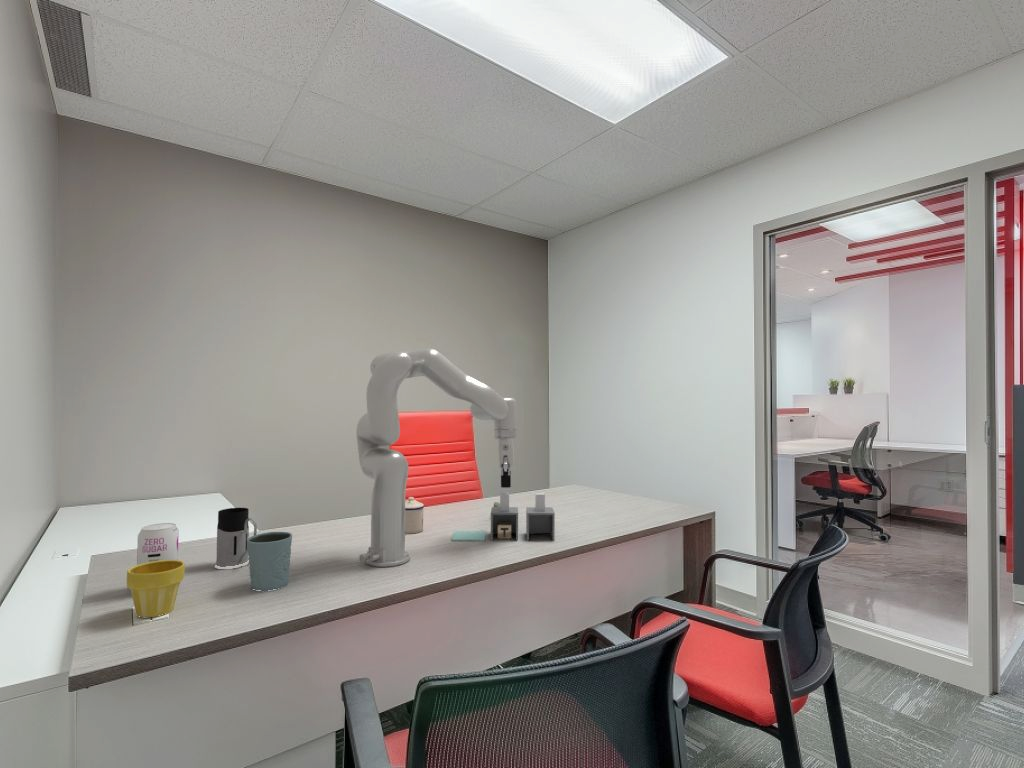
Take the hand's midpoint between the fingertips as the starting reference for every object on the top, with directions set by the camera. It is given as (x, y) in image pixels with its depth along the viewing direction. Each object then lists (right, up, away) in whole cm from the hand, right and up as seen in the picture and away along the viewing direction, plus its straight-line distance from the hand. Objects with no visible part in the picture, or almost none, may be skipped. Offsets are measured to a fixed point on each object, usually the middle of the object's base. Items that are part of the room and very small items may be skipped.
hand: (505, 484), depth 174 cm
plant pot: (-75, -16, -63) cm, 99 cm away
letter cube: (-1, -18, -1) cm, 18 cm away
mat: (-13, -17, -1) cm, 21 cm away
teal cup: (-58, -16, -47) cm, 76 cm away
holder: (-74, -16, -32) cm, 82 cm away
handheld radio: (-2, -18, +18) cm, 26 cm away
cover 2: (+11, -18, -1) cm, 21 cm away
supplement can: (-84, -16, -49) cm, 99 cm away
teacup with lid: (-34, -18, +7) cm, 39 cm away
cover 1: (-1, -17, -1) cm, 17 cm away
